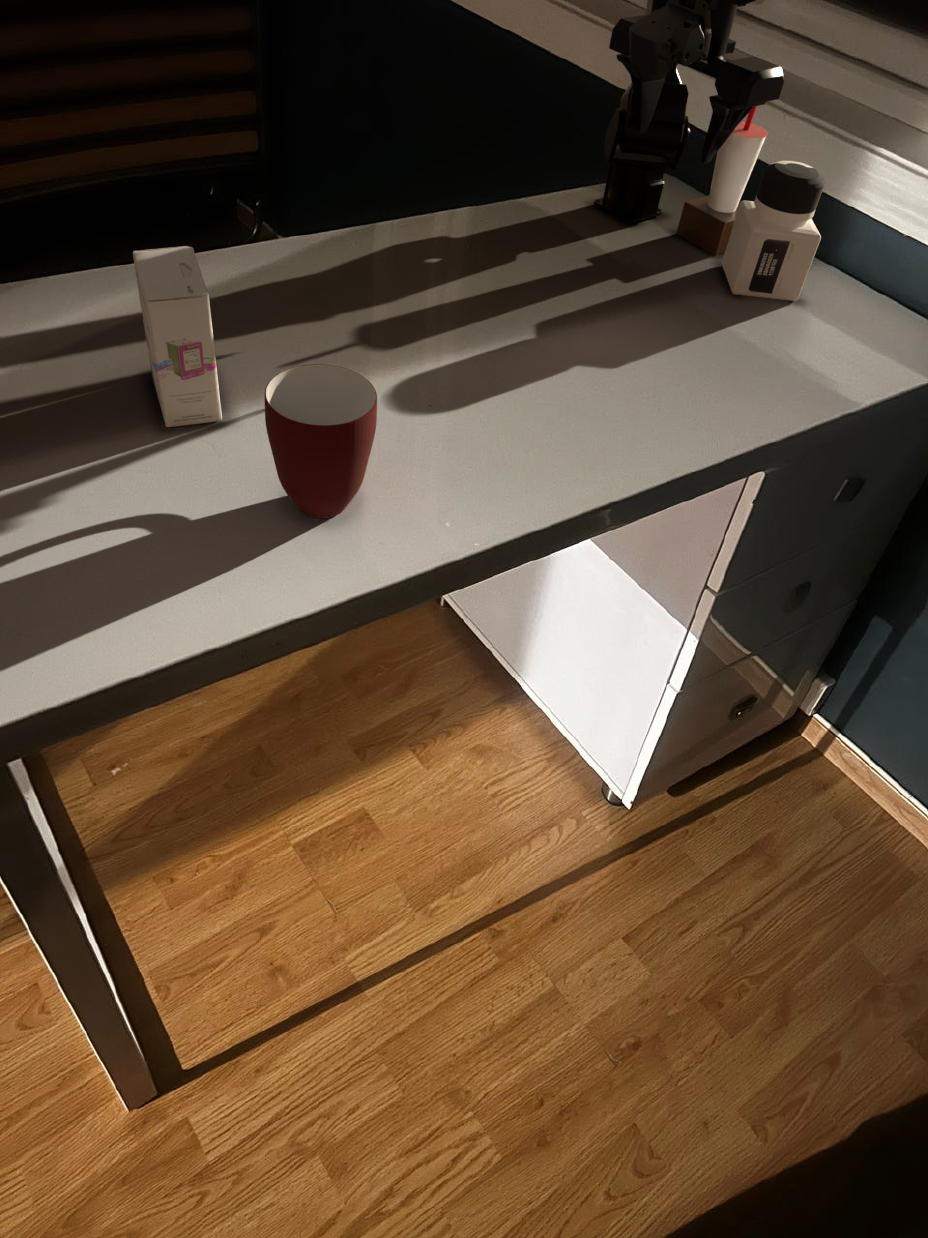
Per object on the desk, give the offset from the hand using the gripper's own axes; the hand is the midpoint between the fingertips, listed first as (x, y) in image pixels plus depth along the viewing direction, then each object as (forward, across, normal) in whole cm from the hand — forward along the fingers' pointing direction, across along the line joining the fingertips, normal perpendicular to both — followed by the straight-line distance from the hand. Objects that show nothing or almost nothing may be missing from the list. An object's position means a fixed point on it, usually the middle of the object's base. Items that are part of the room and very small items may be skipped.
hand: (672, 147), depth 104 cm
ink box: (+13, -1, -58) cm, 59 cm away
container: (+13, +10, +9) cm, 19 cm away
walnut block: (+13, -1, +13) cm, 19 cm away
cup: (+9, -1, +13) cm, 16 cm away
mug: (+14, +16, -56) cm, 60 cm away
